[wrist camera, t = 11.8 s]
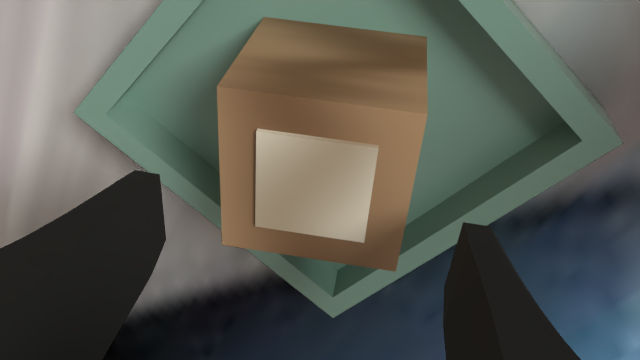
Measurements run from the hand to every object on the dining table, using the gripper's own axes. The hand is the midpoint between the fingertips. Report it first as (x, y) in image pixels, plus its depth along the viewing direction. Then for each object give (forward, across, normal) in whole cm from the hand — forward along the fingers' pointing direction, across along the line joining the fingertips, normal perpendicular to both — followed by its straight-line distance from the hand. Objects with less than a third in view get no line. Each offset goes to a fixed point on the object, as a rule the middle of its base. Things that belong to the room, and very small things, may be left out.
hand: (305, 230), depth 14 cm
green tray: (+7, 0, 0) cm, 7 cm away
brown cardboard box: (+7, 0, 0) cm, 7 cm away
